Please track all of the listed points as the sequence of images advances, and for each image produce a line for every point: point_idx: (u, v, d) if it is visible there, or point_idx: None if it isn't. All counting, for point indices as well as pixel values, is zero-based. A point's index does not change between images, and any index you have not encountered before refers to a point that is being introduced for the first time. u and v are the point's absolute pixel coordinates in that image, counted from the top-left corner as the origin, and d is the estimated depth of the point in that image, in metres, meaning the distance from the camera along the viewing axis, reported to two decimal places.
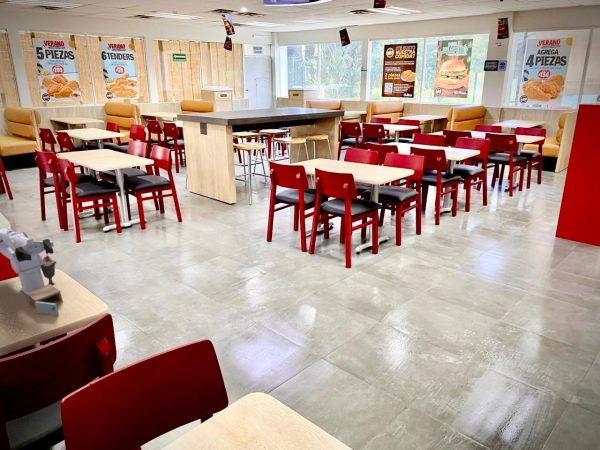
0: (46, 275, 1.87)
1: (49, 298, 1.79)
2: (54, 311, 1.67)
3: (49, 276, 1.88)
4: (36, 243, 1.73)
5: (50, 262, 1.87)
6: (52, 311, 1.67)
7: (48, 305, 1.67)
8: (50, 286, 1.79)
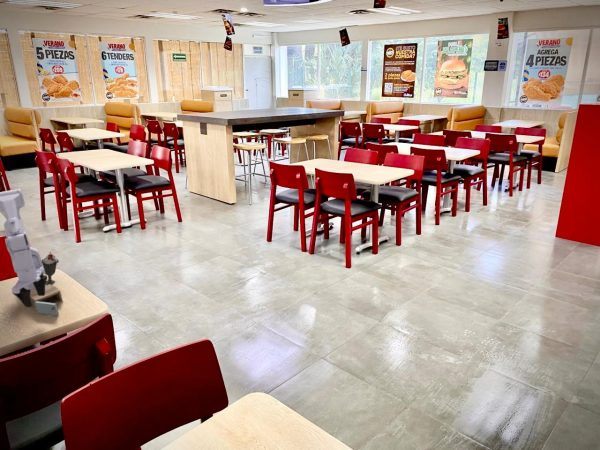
0: (45, 272, 1.89)
1: (49, 298, 1.79)
2: (54, 311, 1.67)
3: (48, 274, 1.89)
4: None
5: (51, 261, 1.87)
6: (52, 311, 1.67)
7: (48, 305, 1.67)
8: (50, 286, 1.79)
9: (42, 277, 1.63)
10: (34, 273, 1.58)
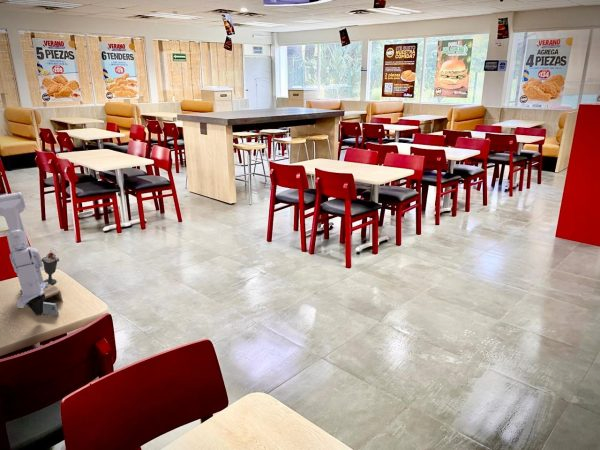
0: (46, 271, 1.89)
1: (49, 298, 1.79)
2: (54, 311, 1.67)
3: (48, 272, 1.89)
4: None
5: (52, 259, 1.87)
6: (52, 311, 1.67)
7: (48, 305, 1.67)
8: (50, 286, 1.79)
9: (40, 296, 1.62)
10: (38, 287, 1.60)
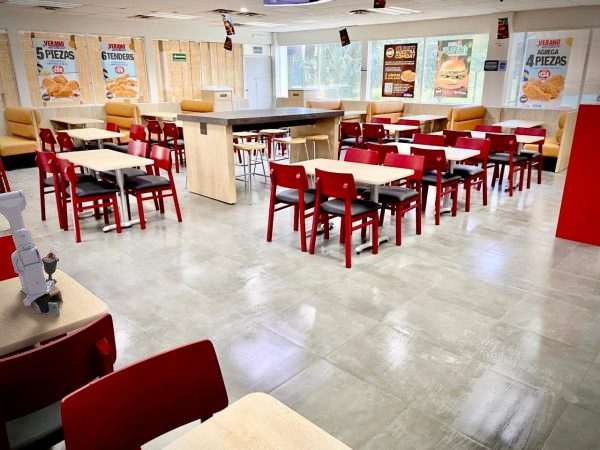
0: (46, 271, 1.89)
1: (49, 298, 1.79)
2: (55, 310, 1.68)
3: (48, 272, 1.89)
4: None
5: (52, 259, 1.87)
6: (53, 310, 1.68)
7: (49, 304, 1.67)
8: None
9: (45, 295, 1.65)
10: (44, 285, 1.63)
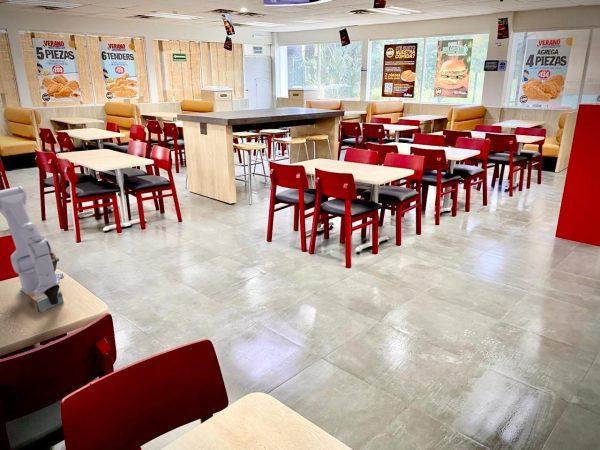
0: None
1: None
2: (60, 299, 1.75)
3: None
4: None
5: (52, 259, 1.87)
6: (58, 300, 1.75)
7: None
8: None
9: (54, 286, 1.70)
10: (54, 277, 1.68)
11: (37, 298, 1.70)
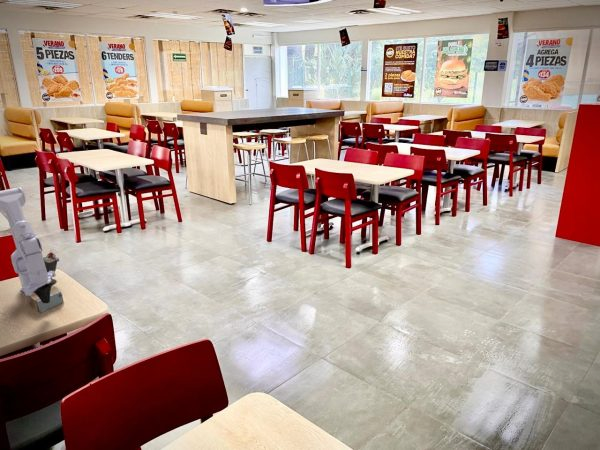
0: None
1: None
2: (60, 299, 1.75)
3: None
4: None
5: (52, 259, 1.87)
6: (58, 300, 1.75)
7: (53, 296, 1.73)
8: None
9: (47, 284, 1.66)
10: (45, 276, 1.63)
11: (37, 298, 1.70)
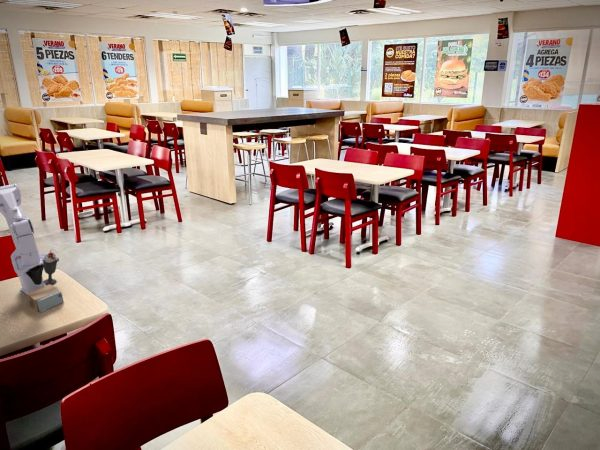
0: (46, 271, 1.89)
1: None
2: (60, 299, 1.75)
3: (48, 272, 1.89)
4: None
5: (52, 259, 1.87)
6: (58, 300, 1.75)
7: (53, 296, 1.73)
8: (50, 286, 1.79)
9: (39, 266, 1.70)
10: (37, 257, 1.67)
11: (37, 298, 1.70)
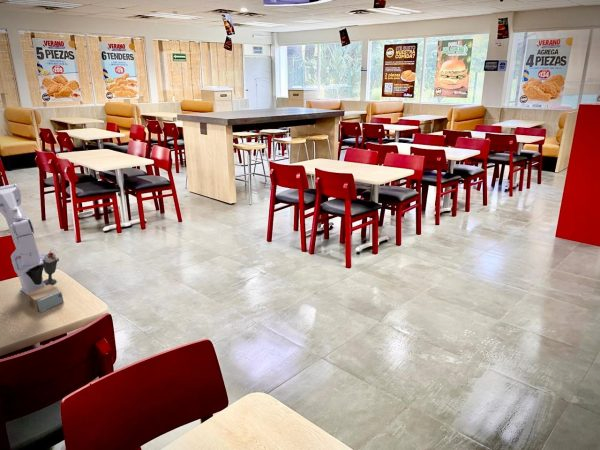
0: (46, 271, 1.89)
1: None
2: (60, 299, 1.75)
3: (48, 272, 1.89)
4: None
5: (51, 259, 1.87)
6: (58, 300, 1.75)
7: (53, 296, 1.73)
8: (50, 286, 1.79)
9: (39, 266, 1.70)
10: (37, 257, 1.67)
11: (37, 298, 1.70)
